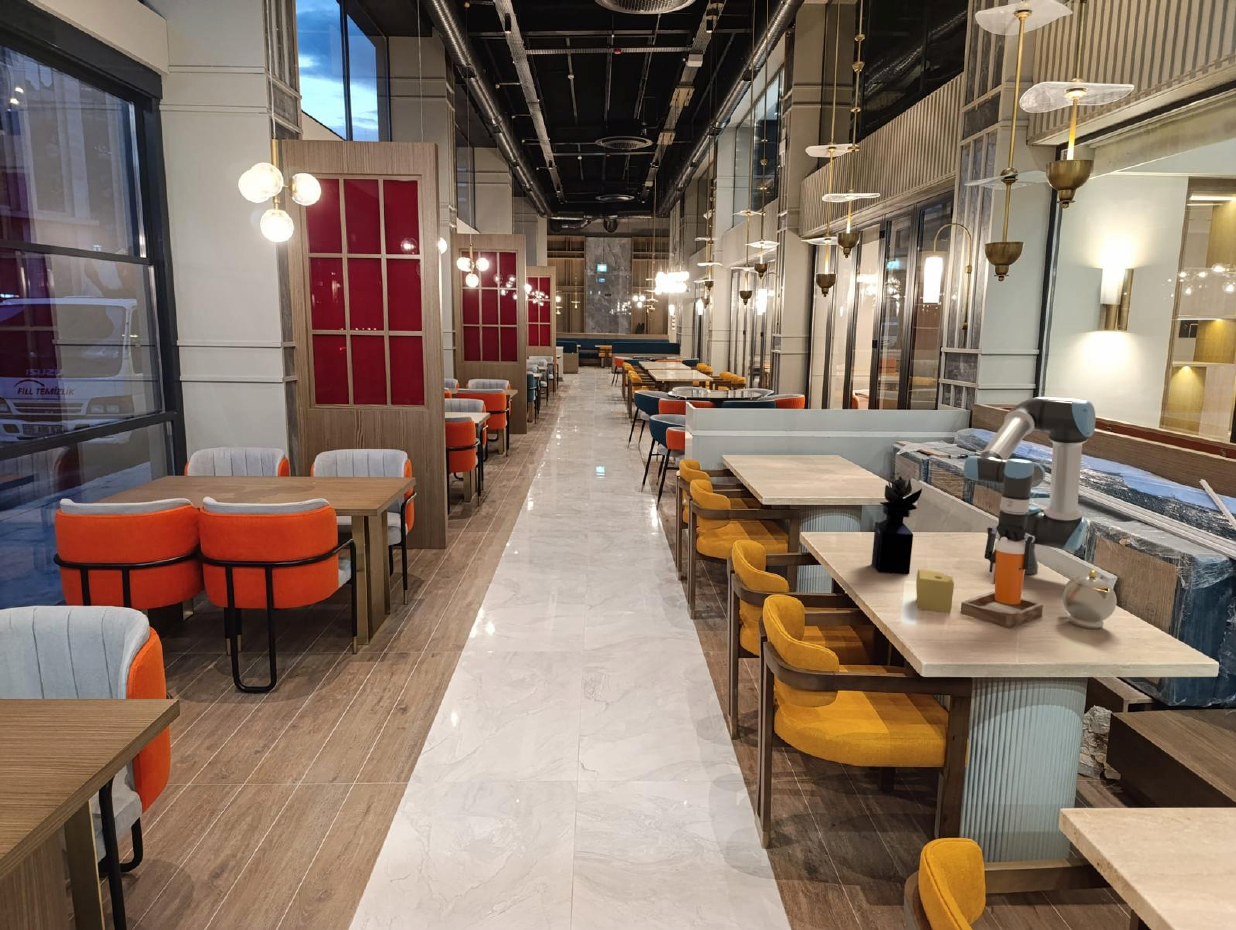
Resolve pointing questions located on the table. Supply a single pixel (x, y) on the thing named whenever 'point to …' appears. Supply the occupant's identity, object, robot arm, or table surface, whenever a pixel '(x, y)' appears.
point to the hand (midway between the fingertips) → (1004, 586)
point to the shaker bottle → (1009, 570)
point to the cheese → (934, 591)
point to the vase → (894, 530)
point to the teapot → (1089, 601)
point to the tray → (1001, 610)
